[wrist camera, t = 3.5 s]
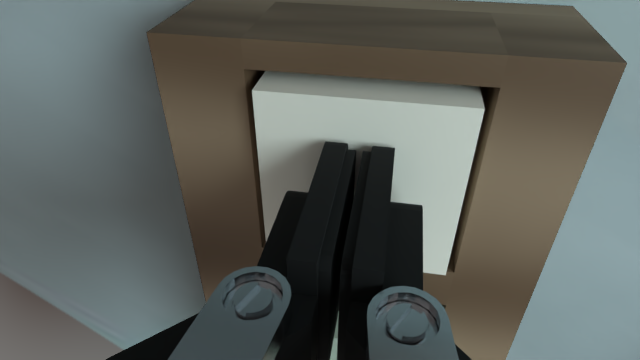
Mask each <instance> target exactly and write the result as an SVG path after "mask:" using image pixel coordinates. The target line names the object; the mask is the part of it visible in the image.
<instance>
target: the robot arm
mask: <svg viewBox="0 0 640 360" xmlns="http://www.w3.org/2000/svg"><path fill="white" fill-rule="evenodd" d="M394 156H395V148H391V147H381V146H372V151H371V152H370V151H363V153H362V158H361V163H360V168H359V173H358V179H357V184H356V189H355V194H354V183H355V165H356V150H349V149H348V143H338V142H327V141H326V142H325V143H324V146H323V149H322V152H321V155H320V158H319V161H318V164H317V167H316V170H315V173H314V176H313V179H312V182H311V185H310V188H309V192H299V191H289V190H288V191H287V192H286V194H285V196H284V198H283V201H282V203H281V206H280V209H279V211H278V214H277V216H276V219H275V221H274V224H273V226H272V229H271V231H270V234H269V236H268V239H267V241H266V244H265V247H264V249H263V252H262V254H261V257H260V259H259V262H258V264H257V266H254V267H245V268H242V269H239V270H237V271H234V272H233V273H231V274H229V275H228V276H226V277H225V278H224V279H223V280H222V281H221V282H220V283H219V284H218V286H217V287H216V289H215V290H214V292H213V293H212V295H211V296H210V298H209V299H208V301H207V302H206V304H205V305H204V306H203V308H202V309H201V311H200V312H199V313H198V314H196V315H194V316H192V317H190V318H188V319H186V320H184V321H182V322H180V323H178V324H176V325H174V326H172V327H170V328H168V329H166V330H164V331H162V332H160V333H158V334H156V335H154V336H152V337H150V338H148V339H146V340H144V341H142V342H140V343H138V344H136V345H134V346H132V347H130V348H128V349H126V350H123V351H122V352H120V353H118V354H115V355H114V356H111V357H110V358H108V359H106V360H330V356H331V351H332V345H333V340H334V334H335V328H336V323H337V317H338V312H339V319H338V343H337V360H472V359H471V358H470V357H469V356H468V355H466V354H465V353H464V352H463V351H462V350H461V349H460V348H459V347H458V346H457V345H456V344H455V342H454V338H453V334H452V330H451V325H450V321H449V318H448V315H447V313H446V311H445V308H444V307H443V306H442V305H441V304H440V302H439V301H438V300H437V299H436V298H434V297H433V296H432V295H430V294H429V293H427V292H425V291H423V207H422V205H416V204H407V203H398V202H390V201H391V190H392V178H393V167H394Z"/></svg>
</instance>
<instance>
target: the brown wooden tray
mask: <svg viewBox="0 0 640 360" xmlns="http://www.w3.org/2000/svg"><path fill="white" fill-rule="evenodd" d="M147 37H148V42H149V46H150V51H151V55H152V60H153V64H154V69H155V73H156V78H157V82H158V87H159V91H160V96H161V100H162V105H163V110H164V114H165V119H166V123H167V128H168V132H169V137H170V141H171V146H172V150H173V155H174V159H175V164H176V168H177V173H178V177H179V182H180V187H181V191H182V196H183V200H184V205H185V209H186V214H187V218H188V223H189V227H190V232H191V236H192V241H193V245H194V250H195V255H196V259H197V264H198V268H199V273H200V277H201V282H202V286H203V291H204V295H205V300H206V302H207V301H208V299H209V298H210V296H211V295H212V293H213V292H214V290H215V289H216V287H217V286H218V284H219V283H220V282H221V281H222V280H223V279H224V278H225V277H226V276H228V275H229V274H231V273H233V272H234V271H237V270H239V269H242V268H245V267H254V266H257V264H258V262H259V259H260V257H261V254H262V252H263V249H264V247H265V244H266V238H265V227H264V216H263V205H262V194H261V184H260V173H259V162H258V151H257V140H256V130H255V119H254V108H253V97H252V89H253V88H254V87H255V85H256V84H257V82H258V81H259V79H260V78H261V77H262V75H263V74H264V72H265V71H277V72H291V73H305V74H318V75H332V76H346V77H359V78H373V79H387V80H400V81H414V82H428V83H441V84H455V85H469V86H479V87H480V91H481V95H482V99H483V103H484V107H485V111H484V115H483V119H482V123H481V128H480V132H479V136H478V140H477V145H476V149H475V153H474V157H473V162H472V166H471V170H470V174H469V179H468V183H467V187H466V191H465V196H464V200H463V204H462V208H461V213H460V217H459V221H458V225H457V230H456V234H455V238H454V242H453V247H452V251H451V255H450V259H449V263H448V268H447V272H446V275H439V274H431V273H424V272H423V291H425V292H427V293H429V294H430V295H432V296H433V297H434V298H436V299H437V300H438V301H439V302H440V304H441V305H442V306H443V307H444V308H445V311H446V313H447V315H448V318H449V321H450V325H451V330H452V334H453V338H454V342H455V344H456V345H457V346H458V347H459V348H460V349H461V350H462V351H463V352H464V353H465V354H466V355H468V356H469V357H470V358H471V359H472V360H505V359H506V357H507V354H508V352H509V349H510V347H511V345H512V342H513V340H514V337H515V335H516V332H517V330H518V328H519V325H520V323H521V320H522V318H523V315H524V313H525V310H526V308H527V306H528V303H529V301H530V298H531V296H532V293H533V291H534V289H535V286H536V284H537V281H538V279H539V276H540V274H541V272H542V269H543V267H544V264H545V262H546V259H547V257H548V254H549V252H550V250H551V247H552V245H553V242H554V240H555V237H556V235H557V233H558V230H559V228H560V225H561V223H562V220H563V218H564V215H565V213H566V211H567V208H568V206H569V203H570V201H571V198H572V196H573V194H574V191H575V189H576V186H577V184H578V181H579V179H580V177H581V174H582V172H583V169H584V167H585V164H586V162H587V159H588V157H589V155H590V152H591V150H592V147H593V145H594V142H595V140H596V138H597V135H598V133H599V130H600V128H601V125H602V123H603V120H604V118H605V116H606V113H607V111H608V108H609V106H610V103H611V101H612V99H613V96H614V94H615V91H616V89H617V86H618V84H619V82H620V79H621V77H622V74H623V72H624V69H625V67H626V64H627V62H626V61H625V60H624V59H623V58H622V57H621V56H620V55H619V54H618V53H617V52H616V51H615V50H614V49H613V48H612V47H611V46H610V44H609V43H608V42H607V41H606V40H605V39H604V38H603V37H602V36H601V35H600V34H599V33H598V32H597V31H596V30H595V29H594V28H593V27H592V26H591V25H590V24H589V23H588V21H587V20H586V19H585V18H584V17H583V16H582V15H581V14H580V13H579V12H578V11H577V10H576V9H575V8H574V7H573V6H559V5H538V4H517V3H496V2H475V1H455V0H194V1H193V2H191V3H190V4H188V5H187V6H185V7H184V8H182V9H181V10H179V11H178V12H176V13H175V14H173V15H172V16H170V17H169V18H167V19H166V20H164V21H163V22H161V23H160V24H158V25H157V26H155V27H154V28H152V29H151V30H149V31H148V32H147Z"/></svg>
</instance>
